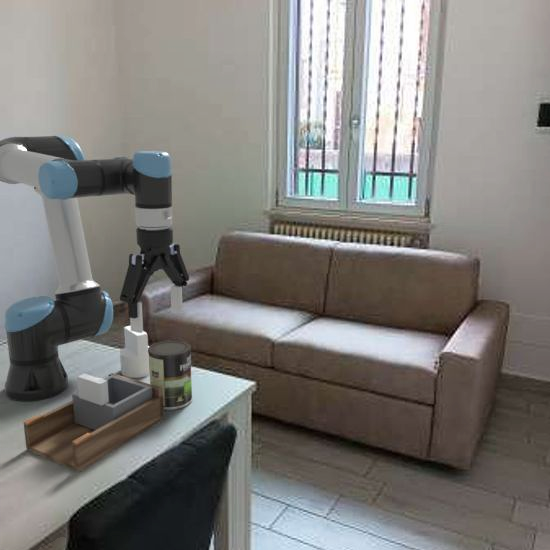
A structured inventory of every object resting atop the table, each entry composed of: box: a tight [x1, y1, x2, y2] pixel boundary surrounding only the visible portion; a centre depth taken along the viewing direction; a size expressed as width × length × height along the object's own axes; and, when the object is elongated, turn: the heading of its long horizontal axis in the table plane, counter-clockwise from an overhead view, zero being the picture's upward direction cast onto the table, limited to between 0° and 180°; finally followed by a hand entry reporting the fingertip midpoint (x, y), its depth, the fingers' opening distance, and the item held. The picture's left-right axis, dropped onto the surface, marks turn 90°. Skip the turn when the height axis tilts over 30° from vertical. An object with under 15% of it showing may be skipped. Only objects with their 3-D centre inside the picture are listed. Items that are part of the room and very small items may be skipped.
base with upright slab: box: [119, 325, 151, 379], centre depth 162 cm, size 9×9×12 cm
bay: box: [23, 372, 165, 473], centre depth 129 cm, size 16×25×8 cm, turn 149°
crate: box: [71, 373, 153, 430], centre depth 132 cm, size 13×12×12 cm
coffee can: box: [148, 340, 193, 411], centre depth 145 cm, size 10×10×14 cm
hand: (157, 322), depth 129 cm, fingers open, 13 cm apart
